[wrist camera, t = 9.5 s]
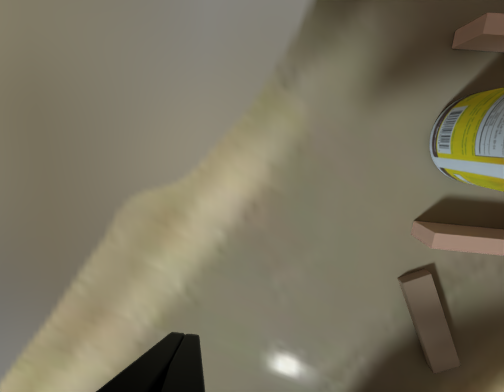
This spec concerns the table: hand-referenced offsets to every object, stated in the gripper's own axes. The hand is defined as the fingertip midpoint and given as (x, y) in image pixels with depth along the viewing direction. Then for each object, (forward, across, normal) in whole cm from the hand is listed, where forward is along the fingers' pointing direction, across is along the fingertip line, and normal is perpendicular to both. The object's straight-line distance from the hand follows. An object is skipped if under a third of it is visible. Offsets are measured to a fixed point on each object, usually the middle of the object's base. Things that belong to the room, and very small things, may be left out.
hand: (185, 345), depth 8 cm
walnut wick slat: (+12, -15, +6) cm, 20 cm away
